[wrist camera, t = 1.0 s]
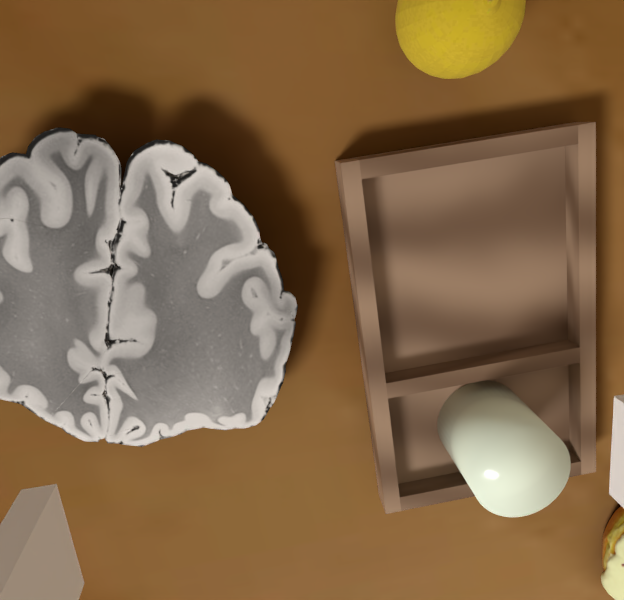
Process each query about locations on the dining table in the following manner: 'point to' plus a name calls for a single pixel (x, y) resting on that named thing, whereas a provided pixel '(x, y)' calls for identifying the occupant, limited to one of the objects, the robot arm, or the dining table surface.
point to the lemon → (457, 33)
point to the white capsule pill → (503, 449)
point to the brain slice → (135, 293)
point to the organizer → (472, 292)
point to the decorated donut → (614, 555)
